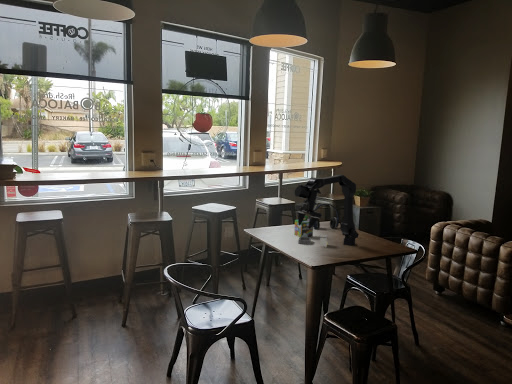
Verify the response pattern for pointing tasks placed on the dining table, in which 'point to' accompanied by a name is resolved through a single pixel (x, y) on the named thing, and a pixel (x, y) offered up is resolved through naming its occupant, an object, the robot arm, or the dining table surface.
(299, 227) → the chalk box
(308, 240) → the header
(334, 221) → the headphones
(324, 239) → the grey box
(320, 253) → the dining table surface
